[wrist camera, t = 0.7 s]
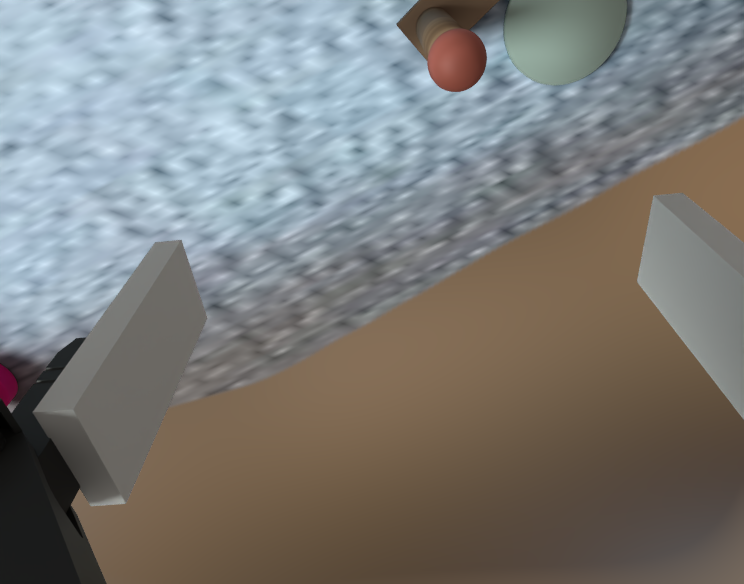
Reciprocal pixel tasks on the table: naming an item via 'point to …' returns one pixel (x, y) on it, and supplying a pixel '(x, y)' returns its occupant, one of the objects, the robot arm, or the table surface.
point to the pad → (562, 37)
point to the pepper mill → (7, 385)
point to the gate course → (448, 39)
